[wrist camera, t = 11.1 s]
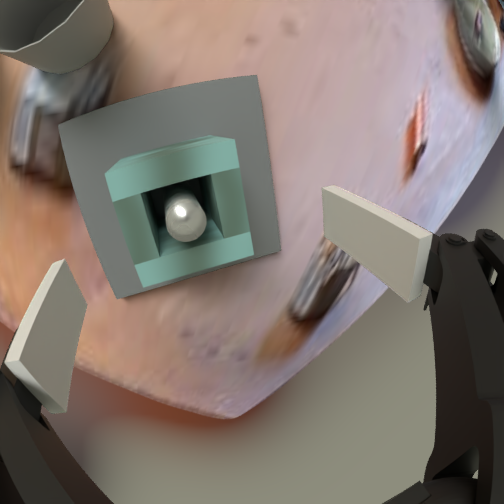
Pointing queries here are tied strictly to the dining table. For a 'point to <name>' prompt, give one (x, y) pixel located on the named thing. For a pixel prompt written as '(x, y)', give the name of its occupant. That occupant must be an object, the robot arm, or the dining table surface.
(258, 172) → the board
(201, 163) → the bead
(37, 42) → the cup
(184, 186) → the rod
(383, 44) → the dining table surface
